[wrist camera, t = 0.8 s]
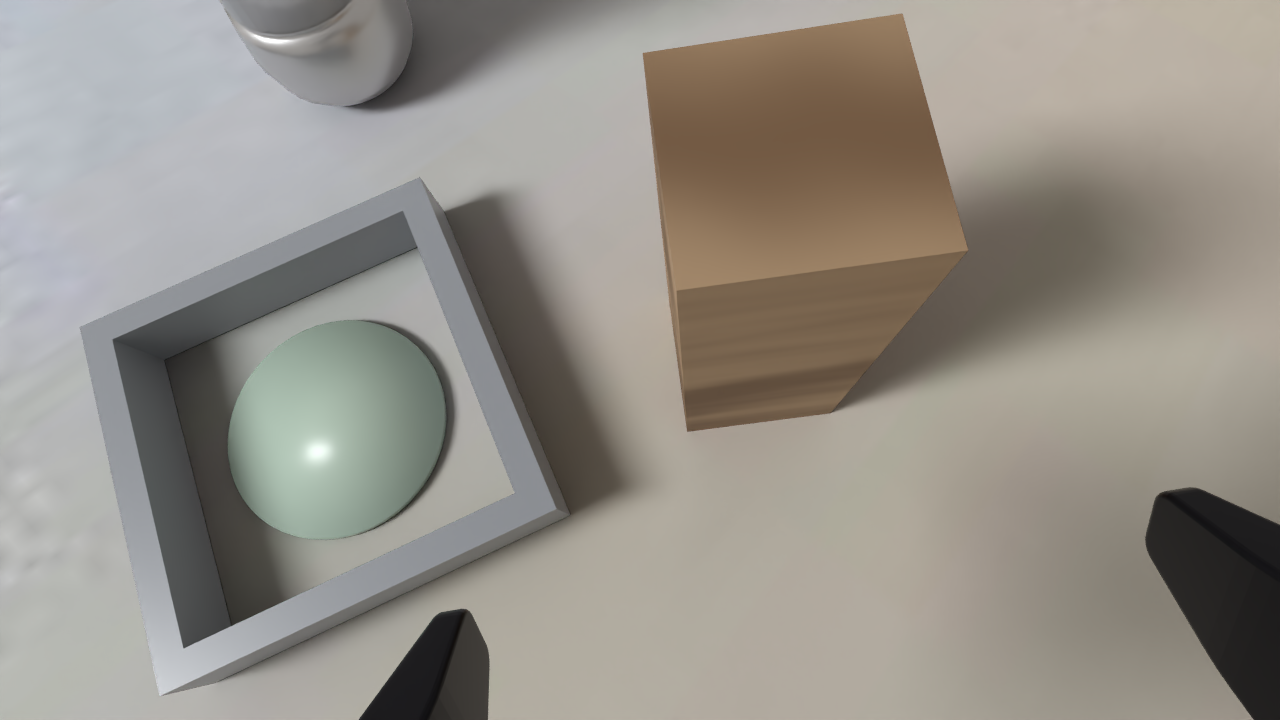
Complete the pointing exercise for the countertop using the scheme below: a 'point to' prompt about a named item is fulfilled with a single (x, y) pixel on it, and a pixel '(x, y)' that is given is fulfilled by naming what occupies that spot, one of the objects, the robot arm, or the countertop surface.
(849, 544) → the countertop surface
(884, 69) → the walnut block
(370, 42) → the plastic bottle
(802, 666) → the countertop surface
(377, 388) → the walled pen
